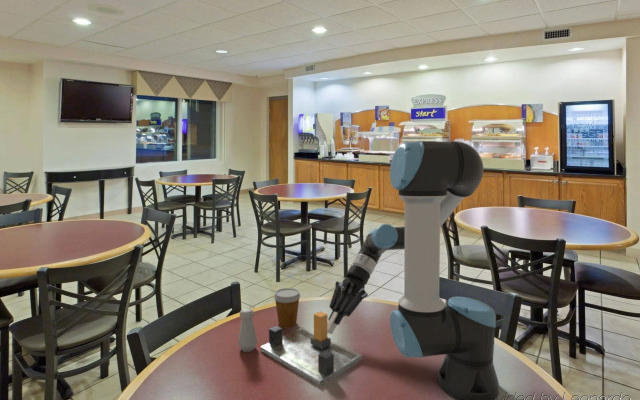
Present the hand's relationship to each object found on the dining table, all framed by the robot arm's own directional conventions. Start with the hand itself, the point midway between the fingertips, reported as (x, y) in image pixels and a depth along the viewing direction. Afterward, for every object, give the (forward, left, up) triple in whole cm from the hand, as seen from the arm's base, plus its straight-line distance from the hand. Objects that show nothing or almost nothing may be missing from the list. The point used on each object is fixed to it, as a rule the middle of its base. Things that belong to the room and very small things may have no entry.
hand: (328, 331), depth 122 cm
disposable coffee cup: (+21, -1, -5) cm, 21 cm away
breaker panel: (0, +8, -5) cm, 9 cm away
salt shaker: (+17, +19, -5) cm, 26 cm away
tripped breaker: (0, +4, -3) cm, 4 cm away
